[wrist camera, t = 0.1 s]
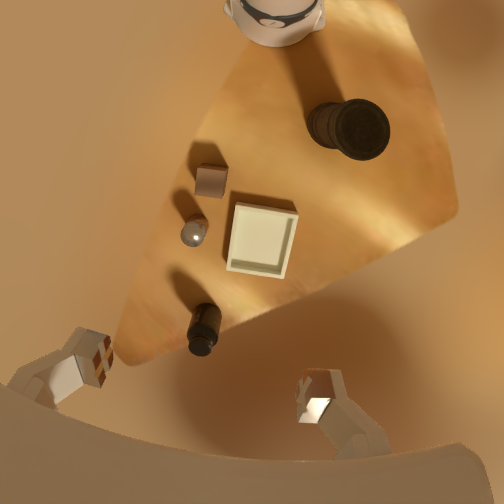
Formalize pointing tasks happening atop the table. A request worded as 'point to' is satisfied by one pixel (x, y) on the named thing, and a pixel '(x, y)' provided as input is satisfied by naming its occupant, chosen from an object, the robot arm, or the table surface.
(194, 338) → the supplement bottle
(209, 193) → the walnut block
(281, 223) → the tray
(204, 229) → the metal cylinder
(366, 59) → the table surface
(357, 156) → the container
